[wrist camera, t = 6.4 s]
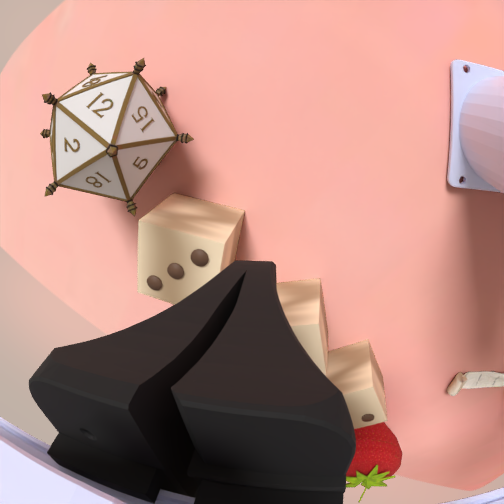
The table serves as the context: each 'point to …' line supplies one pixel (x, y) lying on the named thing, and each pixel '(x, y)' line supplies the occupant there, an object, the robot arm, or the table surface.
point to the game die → (109, 134)
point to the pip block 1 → (185, 246)
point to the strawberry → (374, 456)
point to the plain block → (307, 317)
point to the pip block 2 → (359, 382)
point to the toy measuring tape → (475, 381)
